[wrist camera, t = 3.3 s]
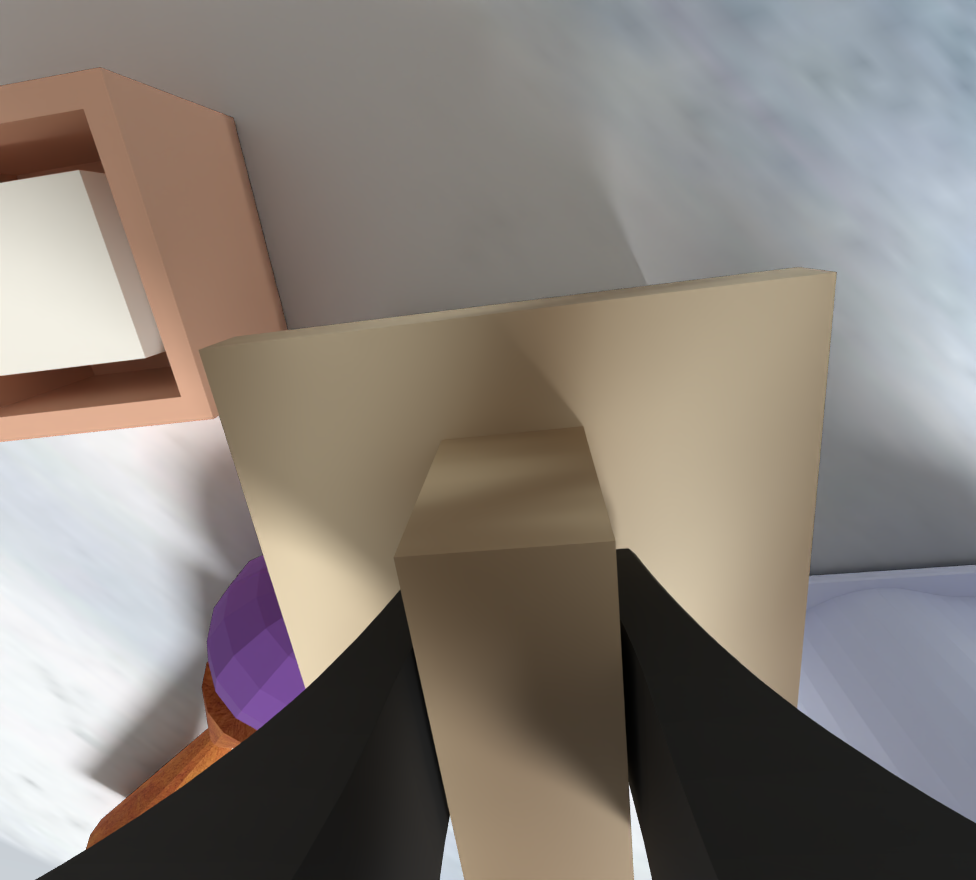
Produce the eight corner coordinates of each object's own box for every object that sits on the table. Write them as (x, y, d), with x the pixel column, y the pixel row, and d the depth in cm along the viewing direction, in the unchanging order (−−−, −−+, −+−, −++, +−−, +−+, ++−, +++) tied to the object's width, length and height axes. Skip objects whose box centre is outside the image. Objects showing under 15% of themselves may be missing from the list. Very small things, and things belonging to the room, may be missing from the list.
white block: (189, 184, 15) (79, 170, 11) (231, 329, 17) (145, 358, 13) (58, 205, 16) (-90, 197, 12) (110, 344, 17) (-8, 376, 13)
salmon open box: (233, 117, 15) (100, 67, 10) (297, 367, 17) (213, 418, 13) (3, 157, 16) (-219, 126, 11) (96, 391, 18) (-53, 447, 13)
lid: (798, 266, 9) (1060, 302, 5) (768, 718, 13) (901, 989, 8) (234, 337, 10) (3, 419, 6) (350, 734, 14) (263, 980, 9)
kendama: (8, 868, 22) (212, 563, 14) (135, 745, 27) (333, 477, 19) (121, 966, 22) (390, 717, 14) (226, 824, 27) (461, 588, 19)
